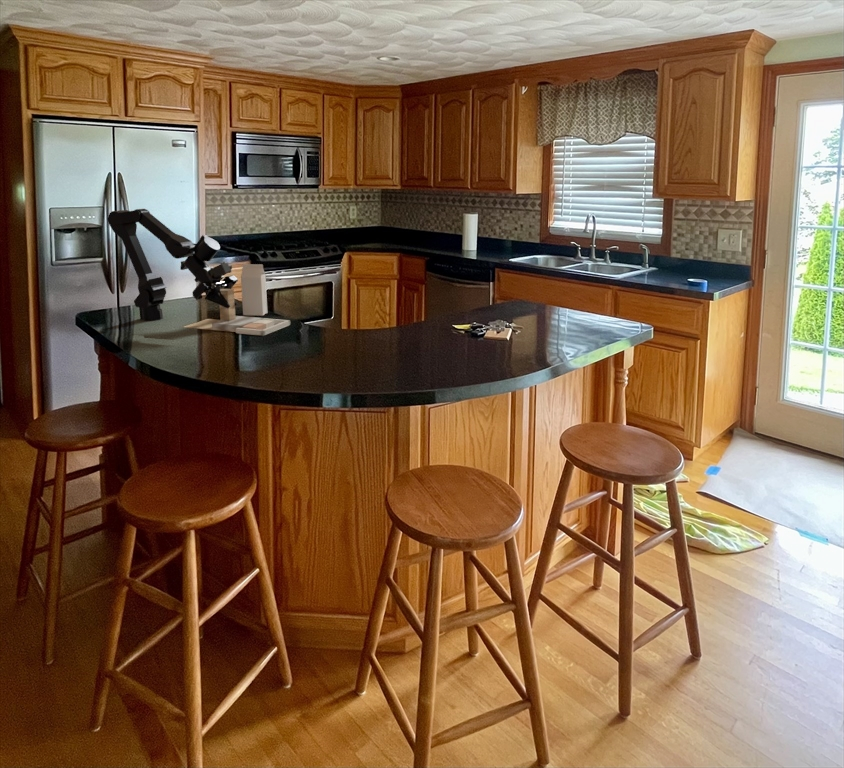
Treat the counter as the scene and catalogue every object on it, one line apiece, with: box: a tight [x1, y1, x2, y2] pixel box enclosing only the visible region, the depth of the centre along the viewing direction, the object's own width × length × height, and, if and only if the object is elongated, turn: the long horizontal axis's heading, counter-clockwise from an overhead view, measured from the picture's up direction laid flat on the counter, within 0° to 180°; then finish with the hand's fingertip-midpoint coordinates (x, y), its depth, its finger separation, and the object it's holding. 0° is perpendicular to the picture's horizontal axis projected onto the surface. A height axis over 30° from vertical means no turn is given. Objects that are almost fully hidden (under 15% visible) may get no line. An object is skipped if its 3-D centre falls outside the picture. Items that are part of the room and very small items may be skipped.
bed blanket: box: [212, 288, 263, 332], centre depth 246 cm, size 11×13×12 cm
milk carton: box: [240, 263, 268, 317], centre depth 267 cm, size 7×7×19 cm
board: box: [183, 318, 236, 333], centre depth 250 cm, size 21×14×2 cm, turn 70°
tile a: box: [253, 320, 275, 329], centre depth 248 cm, size 5×5×2 cm
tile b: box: [242, 323, 265, 330], centre depth 243 cm, size 5×5×2 cm
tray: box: [235, 317, 291, 336], centre depth 245 cm, size 10×17×3 cm, turn 160°
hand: (232, 306), depth 247 cm, fingers closed on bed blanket, 3 cm apart
